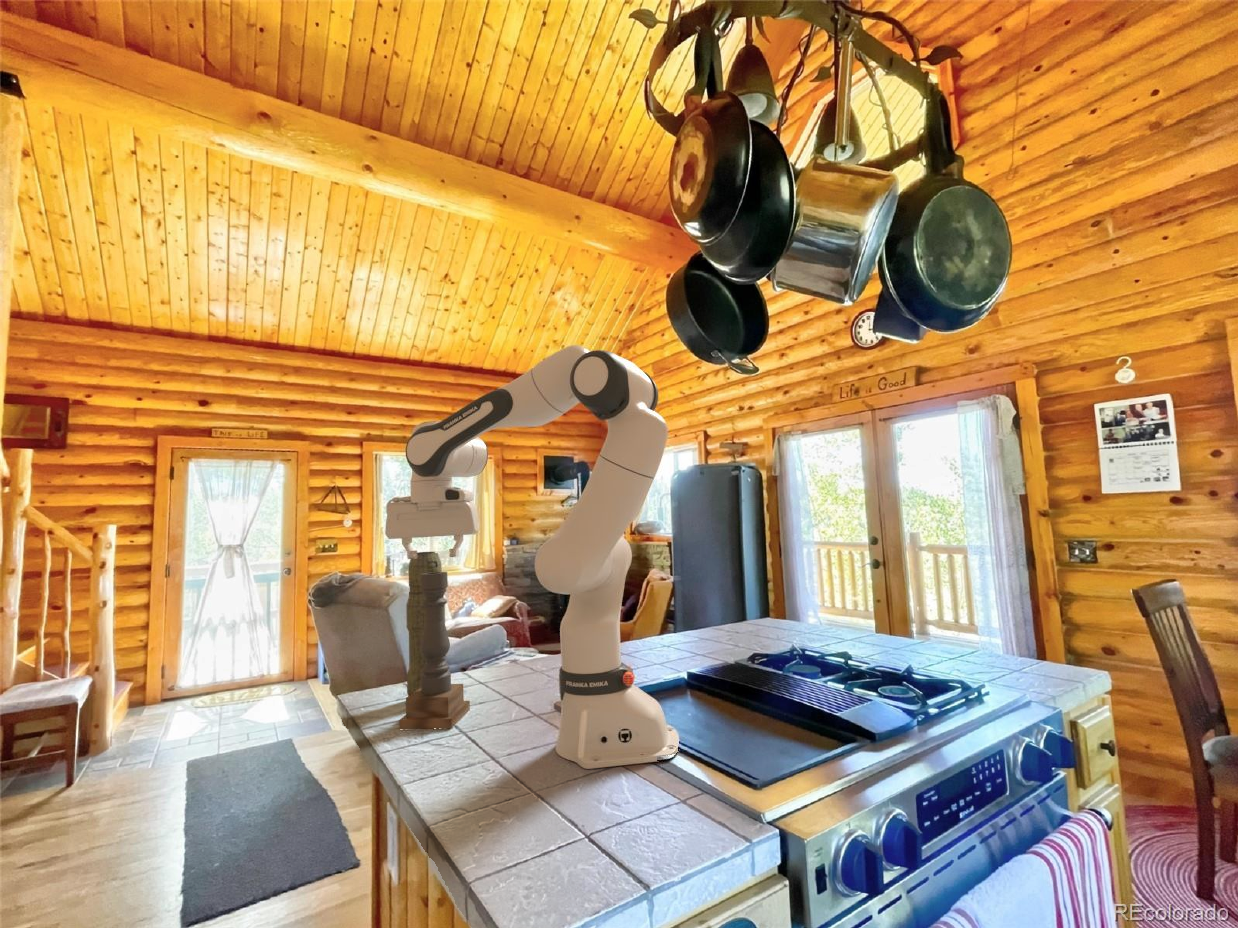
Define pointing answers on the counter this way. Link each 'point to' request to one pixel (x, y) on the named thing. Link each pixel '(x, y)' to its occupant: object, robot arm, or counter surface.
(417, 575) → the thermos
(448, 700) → the walnut stand
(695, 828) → the counter surface
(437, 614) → the candle holder
